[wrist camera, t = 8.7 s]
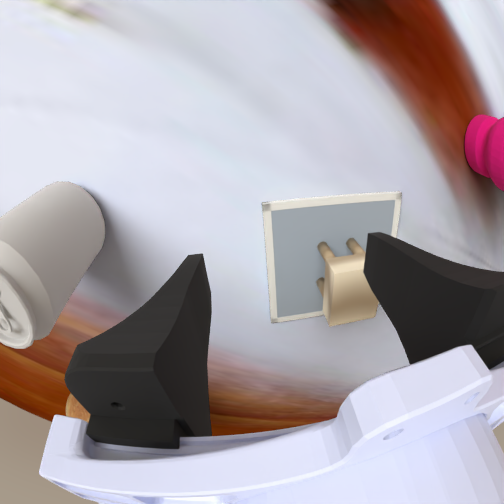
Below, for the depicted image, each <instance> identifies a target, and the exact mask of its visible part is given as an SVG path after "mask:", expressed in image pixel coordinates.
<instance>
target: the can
mask: <svg viewBox="0 0 504 504" xmlns="http://www.w3.org/2000/svg"><path fill="white" fill-rule="evenodd" d="M104 239H105V221H104V219H103V216H102V213H101V210H100V207H99V206H98V205H97V203H96V202H95V200H94V199H93V197H92V196H91V195H90V194H89V193H88V192H87V191H85V190H84V189H83V188H82V187H81V186H78V185H76V184H73V183H71V182H55V183H52V184H50V185H47V186H46V187H44V188H43V189H41V190H39V191H38V192H36V193H35V194H33V195H32V196H30V197H29V198H27V199H26V200H24V201H23V202H21V203H20V204H18V205H17V206H16V207H14V208H13V209H11V210H10V211H9V212H7V213H6V214H5V215H3V216H2V217H1V218H0V342H1V343H3V344H4V345H7V346H10V347H13V348H23V349H25V348H27V347H29V346H31V345H32V344H33V341H34V340H40V339H42V338H44V337H46V336H47V335H49V333H50V331H51V330H52V328H53V326H54V324H55V322H56V320H57V319H58V317H59V315H60V313H61V312H62V310H63V308H64V306H65V305H66V303H67V301H68V300H69V298H70V296H71V295H72V293H73V291H74V290H75V288H76V287H77V285H78V283H79V282H80V280H81V279H82V277H83V276H84V274H85V272H86V271H87V269H88V268H89V266H90V265H91V263H92V262H93V260H94V259H95V257H96V256H97V254H98V253H99V251H100V250H101V248H102V247H103V243H104Z"/></svg>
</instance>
